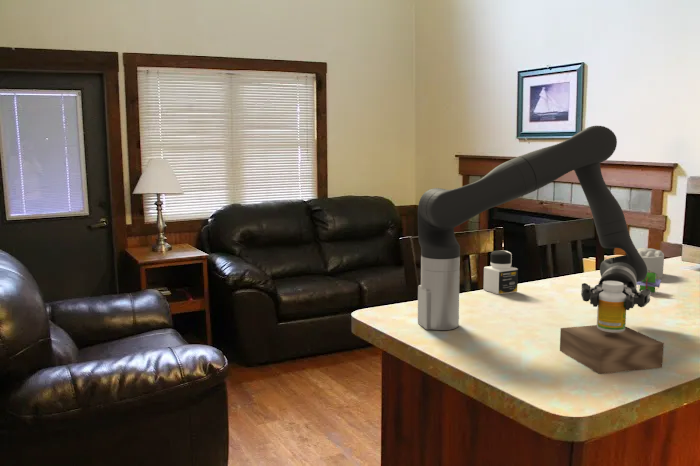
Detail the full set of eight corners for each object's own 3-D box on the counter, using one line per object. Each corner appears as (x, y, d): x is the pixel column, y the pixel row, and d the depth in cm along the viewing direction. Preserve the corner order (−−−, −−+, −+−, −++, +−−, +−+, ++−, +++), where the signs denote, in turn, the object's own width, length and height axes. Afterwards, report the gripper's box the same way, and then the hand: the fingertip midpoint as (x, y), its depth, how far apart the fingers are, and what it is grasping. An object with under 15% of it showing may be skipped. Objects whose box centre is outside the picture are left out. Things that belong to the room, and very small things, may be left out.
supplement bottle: (627, 333, 127) (630, 286, 125) (599, 332, 128) (601, 285, 126) (622, 325, 132) (624, 280, 130) (594, 324, 133) (596, 279, 131)
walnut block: (599, 374, 122) (600, 349, 122) (559, 350, 136) (560, 328, 135) (662, 367, 125) (663, 343, 125) (617, 345, 139) (618, 323, 138)
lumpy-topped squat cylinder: (663, 273, 211) (665, 247, 210) (661, 281, 200) (663, 254, 198) (629, 270, 216) (631, 245, 215) (625, 278, 205) (627, 251, 203)
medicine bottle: (498, 295, 184) (499, 254, 182) (482, 289, 190) (483, 250, 188) (517, 292, 187) (518, 252, 185) (501, 287, 193) (502, 248, 192)
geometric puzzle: (658, 290, 179) (661, 265, 182) (631, 287, 182) (635, 262, 185) (659, 301, 184) (662, 276, 187) (633, 298, 188) (637, 273, 191)
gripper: (584, 265, 144) (574, 281, 129) (654, 271, 138) (652, 288, 123) (582, 297, 145) (572, 317, 130) (652, 304, 139) (649, 326, 124)
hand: (611, 303), depth 127 cm, fingers closed on supplement bottle, 5 cm apart
